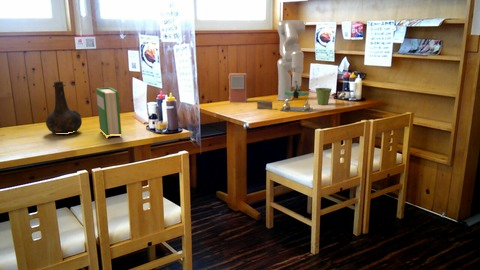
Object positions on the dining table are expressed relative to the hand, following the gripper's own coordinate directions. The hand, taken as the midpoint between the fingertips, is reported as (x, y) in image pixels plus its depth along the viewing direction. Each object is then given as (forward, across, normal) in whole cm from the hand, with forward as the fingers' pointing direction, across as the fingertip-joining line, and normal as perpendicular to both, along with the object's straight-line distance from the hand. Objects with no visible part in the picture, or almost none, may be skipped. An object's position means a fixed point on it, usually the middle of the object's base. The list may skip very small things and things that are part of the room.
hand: (296, 96), depth 281 cm
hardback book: (+9, +90, -85) cm, 124 cm away
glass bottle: (+9, +93, -111) cm, 145 cm away
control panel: (+9, -23, -48) cm, 54 cm away
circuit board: (-1, 0, 0) cm, 1 cm away
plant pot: (+9, -26, +15) cm, 31 cm away
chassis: (+9, 0, 0) cm, 9 cm away
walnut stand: (+9, 0, -22) cm, 24 cm away
